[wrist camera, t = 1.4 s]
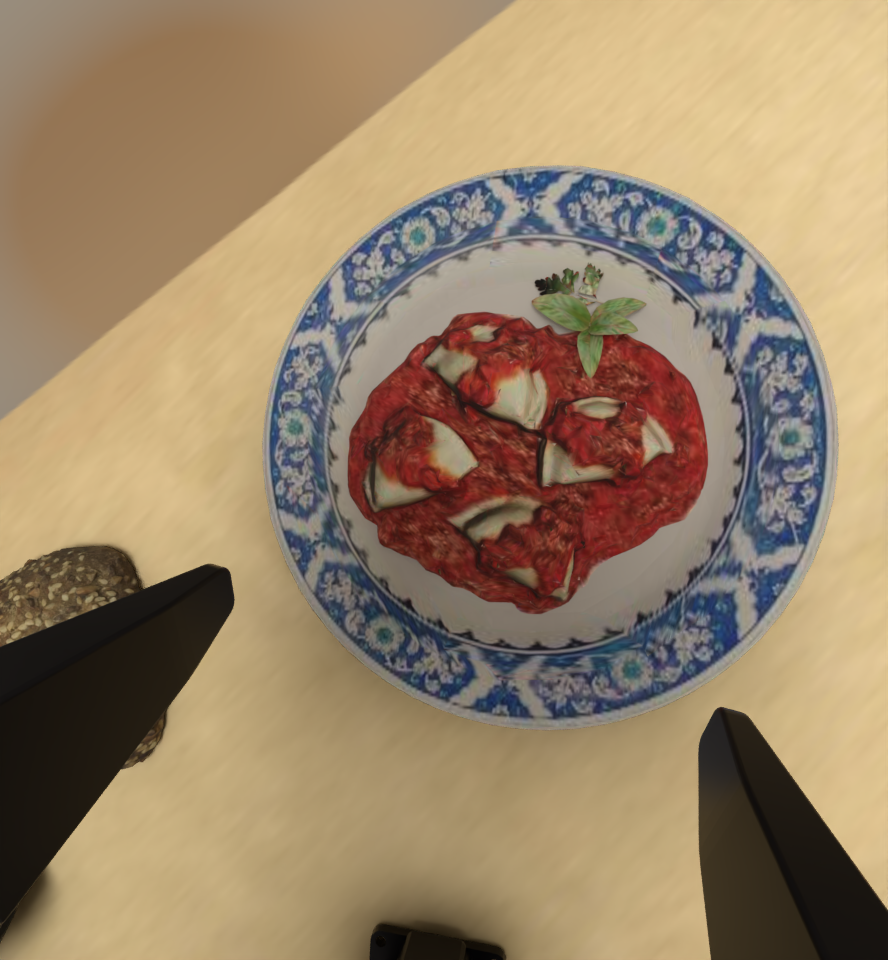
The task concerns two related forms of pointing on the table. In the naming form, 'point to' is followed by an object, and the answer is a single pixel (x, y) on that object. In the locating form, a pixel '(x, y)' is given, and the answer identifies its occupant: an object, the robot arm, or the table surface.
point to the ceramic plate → (550, 447)
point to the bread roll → (68, 600)
